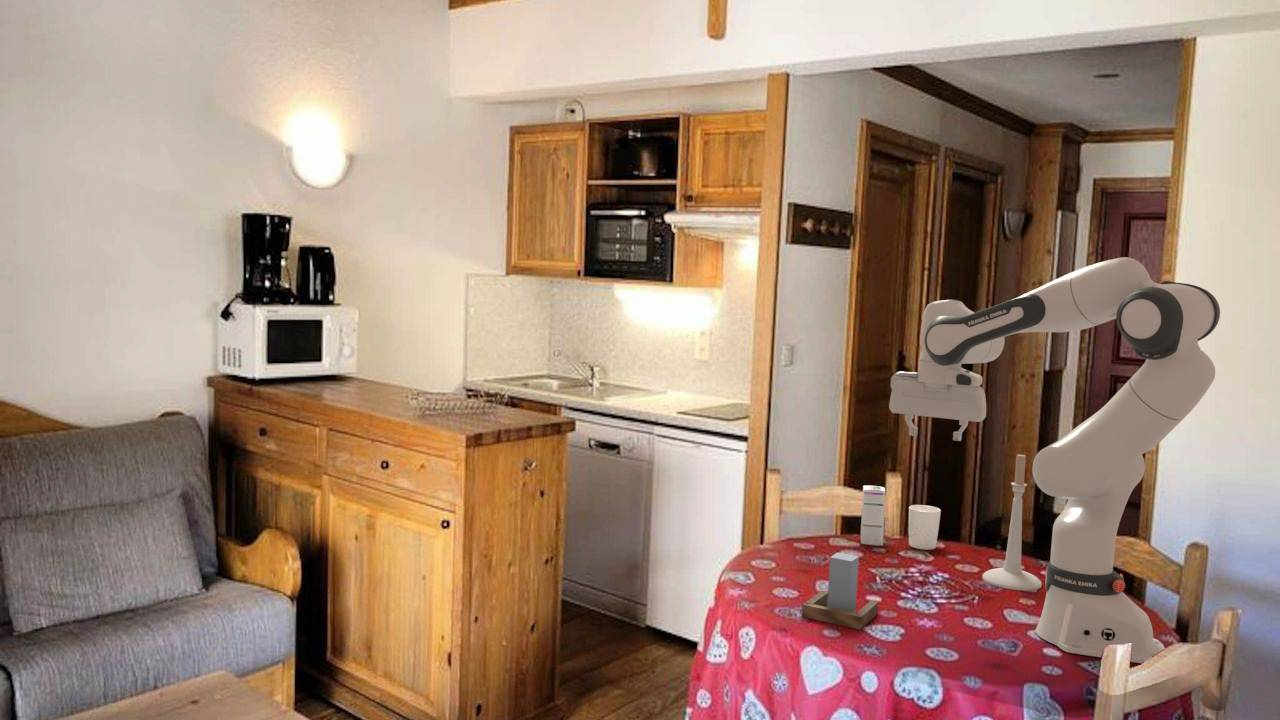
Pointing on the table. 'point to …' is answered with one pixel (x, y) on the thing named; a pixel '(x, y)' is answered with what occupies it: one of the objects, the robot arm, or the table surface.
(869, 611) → the wooden u-shaped frame
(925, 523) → the white cup
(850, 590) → the grey block
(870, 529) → the syrup box
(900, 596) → the table surface
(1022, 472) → the candlestick
